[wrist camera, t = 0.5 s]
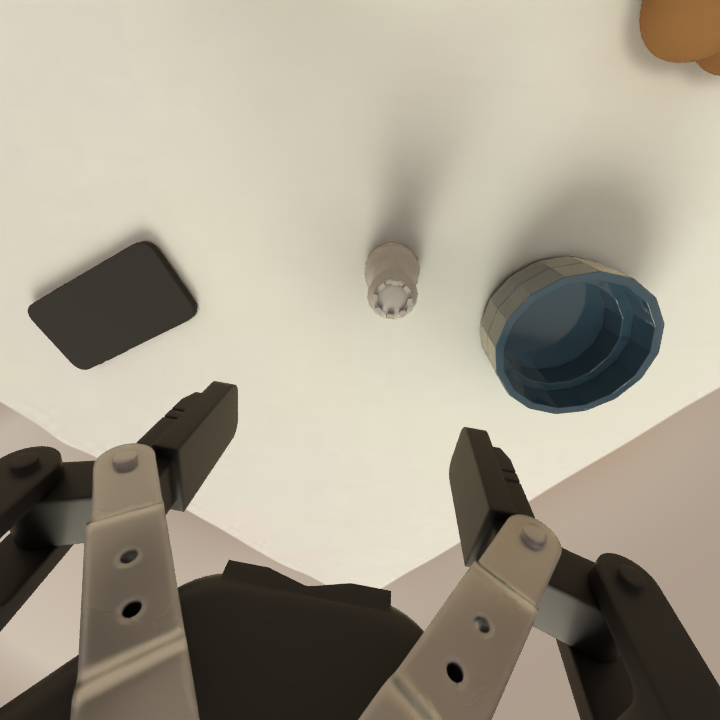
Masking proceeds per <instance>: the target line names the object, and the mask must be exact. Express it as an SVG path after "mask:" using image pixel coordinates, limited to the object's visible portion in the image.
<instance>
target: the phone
mask: <svg viewBox="0 0 720 720" xmlns="http://www.w3.org/2000/svg"><path fill="white" fill-rule="evenodd" d="M196 312H197V306H196V304H195V302H194V300H193V299H192V297H191V296H190V294H189V293H188V291H187V290H186V289H185V287H184V286H183V284H182V283H181V281H180V280H179V278H178V277H177V276H176V274H175V273H174V271H173V270H172V268H171V267H170V266H169V264H168V263H167V261H166V260H165V258H164V257H163V256H162V254H161V253H160V251H159V250H158V249H157V248H156V247H155V246H154V245H153V244H151V243H149V242H139V243H136V244H133V245H131V246H130V247H128V248H126V249H124V250H123V251H121V252H119V253H118V254H116V255H114V256H112V257H111V258H109V259H107V260H106V261H104V262H102V263H101V264H99V265H97V266H95V267H94V268H92V269H90V270H89V271H87V272H85V273H84V274H82V275H80V276H78V277H77V278H75V279H73V280H72V281H70V282H68V283H66V284H64V285H63V286H61V287H59V288H57V289H56V290H54V291H53V292H51V293H50V294H48V295H46V296H44V297H43V298H41V299H39V300H38V301H36V302H34V303H33V304H31V305H30V306H29V308H28V314H29V316H30V318H31V319H32V321H33V322H34V323H35V324H36V325H37V326H38V327H39V328H40V329H41V331H42V332H43V333H44V334H45V335H46V336H47V337H48V338H49V339H50V340H51V341H52V342H53V344H54V345H55V346H56V347H57V348H58V349H59V350H60V351H61V352H62V353H63V354H64V356H65V357H66V358H67V359H68V360H69V361H70V362H71V363H72V364H73V365H74V366H76V367H77V368H79V369H83V370H87V369H90V368H92V367H94V366H96V365H98V364H102V363H104V362H105V361H107V360H110V359H112V358H114V357H116V356H117V355H120V354H122V353H124V352H126V351H128V350H129V349H131V348H133V347H135V346H137V345H139V344H141V343H143V342H145V341H147V340H149V339H151V338H154V337H156V336H158V335H160V334H162V333H164V332H166V331H168V330H170V329H172V328H174V327H176V326H178V325H180V324H182V323H184V322H186V321H188V320H190V319H191V318H192V317H194V316H195V314H196Z"/></svg>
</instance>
